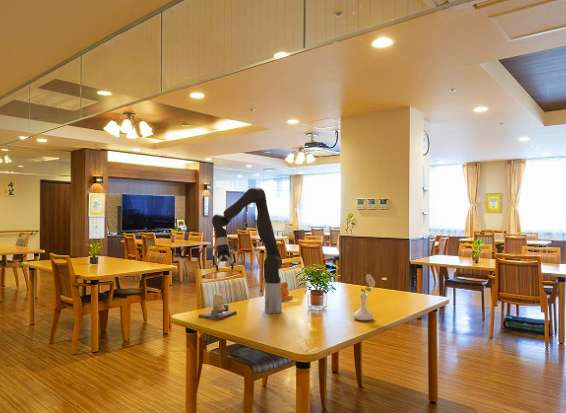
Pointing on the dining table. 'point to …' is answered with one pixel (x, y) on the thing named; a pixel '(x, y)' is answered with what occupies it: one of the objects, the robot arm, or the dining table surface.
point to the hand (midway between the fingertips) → (225, 271)
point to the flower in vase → (363, 312)
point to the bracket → (285, 291)
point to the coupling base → (218, 315)
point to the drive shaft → (225, 307)
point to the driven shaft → (214, 313)
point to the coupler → (217, 303)
